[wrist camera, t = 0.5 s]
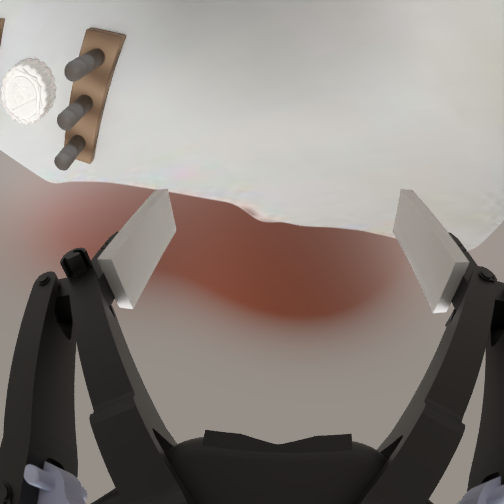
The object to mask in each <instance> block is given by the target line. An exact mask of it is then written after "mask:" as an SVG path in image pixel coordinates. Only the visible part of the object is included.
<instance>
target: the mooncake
mask: <svg viewBox="0 0 504 504" xmlns="http://www.w3.org/2000/svg"><path fill="white" fill-rule="evenodd" d="M54 82H55V78H54V76H53V75H51V69H50V68H48V67H46V64H45V63H44V62H40V61H39V60H38V59H34V60H33V59H31V58H29V59H27V60H24V61H21V62H20V63H18V64H16V65H15V66H13V67H12V68H11V70H9V71H8V72H7V73H6V77H4V79H3V85H2V86H1V92H2V94H1V99H2V100H3V106H4V108H6V112H7V113H8V114H9V115H11V118H12V119H13V120H17V122H18V123H24V124H29V123H35V122H36V121H37V120H39V119H40V118H41V117H43V116H44V115H45V114H46V113H47V112H48V110H49V109H50V108H51V107H52V105H53V100H54V99H55V97H56V95H55V93H54V92H55V91H56V85H55V84H54Z"/></svg>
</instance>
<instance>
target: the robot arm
mask: <svg viewBox="0 0 504 504" xmlns="http://www.w3.org/2000/svg"><path fill="white" fill-rule="evenodd" d="M175 232H176V226H175V221H174V217H173V212H172V207H171V202H170V198H169V193H168V189H161V190H155V191H154V192H153V194H152V195H151V196H150V197H149V198H148V199H147V200H146V201H145V202H144V203H143V205H142V206H141V207H140V208H139V209H138V210H137V211H136V212H135V214H134V215H133V216H132V217H131V218H130V219H129V220H128V222H127V223H126V224H125V225H124V226H123V228H122V229H121V230H120V231H119V232H116V233H115V234H114V235H112V236H111V237H110V238H109V239H108V240H107V242H105V245H103V246H102V247H101V250H99V251H98V252H97V254H96V255H95V256H94V257H93V259H92V260H90V258H89V256H88V253H87V251H86V250H85V249H84V248H76V249H73V250H71V251H69V252H68V253H66V254H65V255H64V256H63V258H62V259H61V261H60V263H61V266H62V267H63V269H64V271H65V274H66V276H67V278H63V279H59V280H58V278H57V276H56V274H55V273H54V272H46V273H43V274H42V275H40V276H39V277H38V278H37V280H36V281H35V283H34V285H33V288H32V291H31V294H30V297H29V300H28V303H27V306H26V309H25V313H24V316H23V319H22V323H21V327H20V330H19V334H18V339H17V343H16V347H15V351H14V356H13V361H12V366H11V371H10V378H9V383H8V390H7V398H6V408H5V418H4V434H3V439H2V443H1V447H0V504H85V500H86V499H87V492H86V490H85V489H84V488H83V487H82V486H81V483H80V482H79V480H78V479H77V475H78V474H77V473H78V459H77V445H76V433H75V411H74V375H75V374H74V373H75V354H76V341H77V347H78V351H79V356H80V361H81V365H82V369H83V373H84V377H85V381H86V385H87V389H88V392H89V396H90V399H91V402H92V406H93V410H94V413H93V414H91V415H90V423H91V427H92V430H93V433H94V436H95V439H96V441H97V444H98V447H99V449H100V452H101V455H102V457H103V459H104V462H105V464H106V467H107V469H108V472H109V474H110V476H111V478H112V481H113V483H114V485H115V487H116V488H115V489H113V490H112V491H110V492H109V493H107V494H106V495H104V496H103V497H101V498H99V499H98V500H96V501H95V502H93V503H91V504H433V503H432V502H431V501H430V500H429V497H430V496H431V494H432V493H433V491H434V489H435V488H436V486H437V484H438V483H439V481H440V479H441V478H442V476H443V474H444V472H445V470H446V469H447V467H448V465H449V463H450V461H451V459H452V457H453V455H454V453H455V451H456V449H457V447H458V445H459V442H460V440H461V438H462V436H463V433H464V430H465V425H464V424H463V423H462V418H463V415H464V413H465V411H466V408H467V405H468V403H469V400H470V397H471V395H472V392H473V389H474V386H475V383H476V380H477V377H478V373H479V370H480V367H481V363H482V359H483V356H484V352H485V348H486V367H485V385H484V398H483V406H482V414H481V421H480V428H479V434H478V439H477V444H476V449H475V454H474V458H473V462H472V467H471V472H470V476H469V483H468V489H467V493H466V494H465V496H464V497H463V498H462V500H461V501H459V502H458V503H457V504H504V283H502V282H498V281H497V279H496V277H495V275H494V274H493V273H492V272H491V271H490V270H488V269H487V268H484V267H480V266H477V264H476V263H475V261H474V260H473V259H472V257H471V256H470V254H469V253H468V252H467V251H466V249H465V247H464V246H463V245H462V243H461V242H460V241H459V240H458V238H456V237H455V236H454V235H453V234H451V233H448V232H447V231H446V229H445V228H444V227H443V226H442V224H441V223H440V222H439V221H438V219H437V218H436V217H435V216H434V214H433V213H432V212H431V211H430V210H429V208H428V207H427V206H426V205H425V204H424V203H423V201H422V200H421V199H420V198H419V197H418V196H417V195H416V193H415V192H414V191H413V190H405V189H401V192H400V197H399V203H398V208H397V213H396V218H395V223H394V228H393V233H394V234H395V236H396V238H397V240H398V241H399V243H400V245H401V247H402V249H403V251H404V253H405V255H406V257H407V259H408V261H409V263H410V264H411V267H412V269H413V270H414V273H415V275H416V277H417V279H418V281H419V283H420V285H421V287H422V290H423V292H424V294H425V296H426V298H427V301H428V303H429V305H430V308H431V310H432V312H433V313H439V312H446V311H447V310H448V307H449V306H450V304H451V302H452V304H453V306H454V308H455V309H454V310H453V312H452V314H451V316H450V318H449V320H448V321H447V323H446V325H445V326H446V330H445V332H444V334H443V337H442V339H441V342H440V344H439V346H438V348H437V351H436V353H435V355H434V357H433V360H432V361H431V364H430V366H429V368H428V370H427V372H426V374H425V376H424V378H423V380H422V381H421V383H420V385H419V387H418V389H417V391H416V393H415V395H414V396H413V398H412V400H411V402H410V403H409V405H408V407H407V408H406V410H405V412H404V413H403V415H402V416H401V418H400V420H399V421H398V423H397V424H396V426H395V428H394V429H393V430H392V432H391V433H390V435H389V436H388V437H387V438H386V440H385V441H384V442H383V443H382V444H381V445H380V447H379V448H378V449H377V450H375V449H374V448H372V447H370V446H367V445H364V444H362V443H358V442H353V441H352V436H351V434H343V435H327V436H314V437H310V438H306V439H302V440H298V441H294V442H289V443H285V444H272V443H269V442H265V441H262V440H258V439H255V438H252V437H249V436H246V435H242V434H236V433H226V432H218V431H210V430H205V434H204V437H200V438H195V439H191V440H188V441H184V442H182V443H179V444H177V443H176V442H175V440H174V439H173V437H172V436H171V434H170V433H169V432H168V430H167V429H166V427H165V425H164V423H163V422H162V420H161V418H160V416H159V414H158V412H157V410H156V408H155V407H154V405H153V402H152V400H151V398H150V396H149V394H148V392H147V390H146V388H145V386H144V384H143V381H142V379H141V377H140V375H139V373H138V371H137V368H136V366H135V363H134V361H133V359H132V356H131V354H130V352H129V349H128V347H127V344H126V341H125V339H124V336H123V334H122V331H121V328H120V325H119V323H118V320H117V317H116V314H115V311H114V309H113V307H112V305H111V304H112V302H113V300H114V299H115V300H116V301H117V304H118V306H119V307H120V308H128V309H133V308H134V306H135V304H136V303H137V301H138V299H139V297H140V295H141V293H142V291H143V289H144V287H145V285H146V283H147V282H148V280H149V278H150V276H151V274H152V272H153V270H154V269H155V267H156V265H157V263H158V261H159V259H160V258H161V256H162V254H163V253H164V251H165V249H166V247H167V246H168V244H169V242H170V240H171V239H172V237H173V235H174V234H175Z"/></svg>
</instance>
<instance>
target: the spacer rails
mask: <svg viewBox="0 0 504 504" xmlns="http://www.w3.org/2000/svg"><path fill="white" fill-rule="evenodd" d="M4 21H5V19H0V44H1V37H2V31H3V26H4ZM125 38H126V35H122V34H118V33H114V32H110V31H105V30H101V29H96V28H90V29H87V30H86V33H85V36H84V40H83V43H82V47H81V51H80V54H79V57H78V58H76V59H74V60H72V61H71V62H69V63H68V64H67V65H66V67H65V76H66V78H67V79H68V80H70V81H73V86H72V91H71V97H70V103H69V106H68V107H67V108H66V109H65V110H64V111H62V112H61V113H60V114H59V115H58V118H57V123H58V125H59V127H60V128H61V129H63V130H66V133H65V143H64V148H63V149H62V150H61V151H60V153H59V154H58V155H57V156H56V157H55V160H54V162H55V165H56V166H57V167H58V168H59V169H60V170H67V169H68V168H69V167H70V165H71V164H72V163H73V161H74V160H75V159H77V160H80V161H83V162H86V163H88V164H91V162H92V161H93V159H94V154H95V148H96V142H97V137H98V132H99V127H100V123H101V118H102V114H103V109H104V105H105V101H106V97H107V94H108V90H109V86H110V83H111V79H112V76H113V73H114V69H115V66H116V63H117V60H118V57H119V54H120V51H121V48H122V46H123V43H124V40H125Z"/></svg>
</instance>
